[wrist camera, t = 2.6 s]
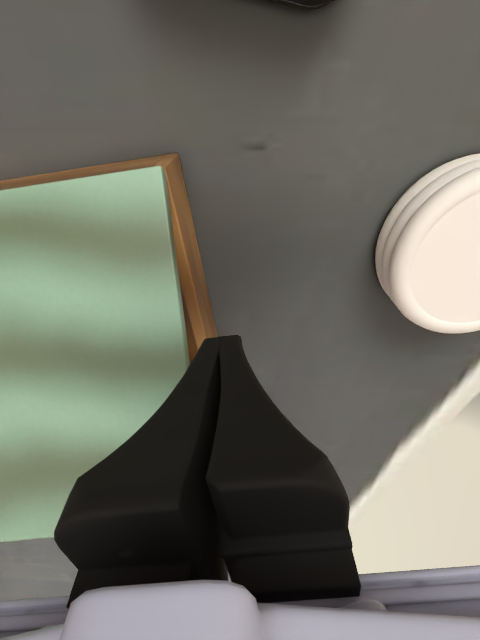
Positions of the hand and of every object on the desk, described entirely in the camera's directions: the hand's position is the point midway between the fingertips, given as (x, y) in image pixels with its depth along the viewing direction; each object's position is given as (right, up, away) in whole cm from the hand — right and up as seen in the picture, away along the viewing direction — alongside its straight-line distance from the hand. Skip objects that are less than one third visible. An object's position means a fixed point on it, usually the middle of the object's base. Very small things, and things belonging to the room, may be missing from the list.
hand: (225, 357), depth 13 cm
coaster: (+14, +7, +9) cm, 18 cm away
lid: (-8, 0, +2) cm, 8 cm away
